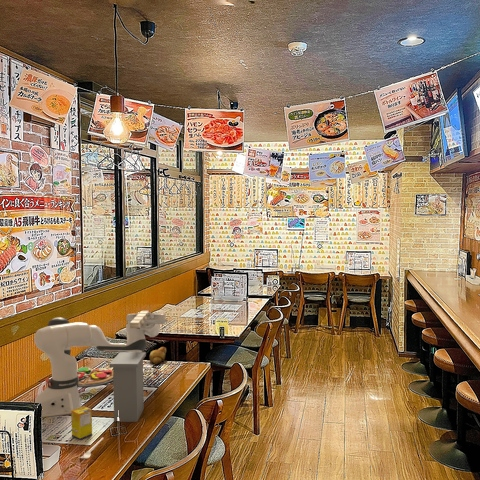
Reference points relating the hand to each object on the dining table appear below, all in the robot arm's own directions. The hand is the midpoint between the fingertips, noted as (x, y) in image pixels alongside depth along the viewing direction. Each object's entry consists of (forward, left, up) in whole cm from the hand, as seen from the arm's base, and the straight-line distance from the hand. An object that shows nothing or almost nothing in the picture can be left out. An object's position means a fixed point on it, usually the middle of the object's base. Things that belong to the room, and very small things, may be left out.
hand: (143, 314), depth 261 cm
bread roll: (+21, +41, -39) cm, 61 cm away
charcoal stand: (-18, -31, -38) cm, 52 cm away
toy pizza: (-21, +30, -39) cm, 53 cm away
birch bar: (-5, -8, -2) cm, 9 cm away
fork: (-40, -55, -39) cm, 78 cm away
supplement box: (-41, -41, -39) cm, 70 cm away
